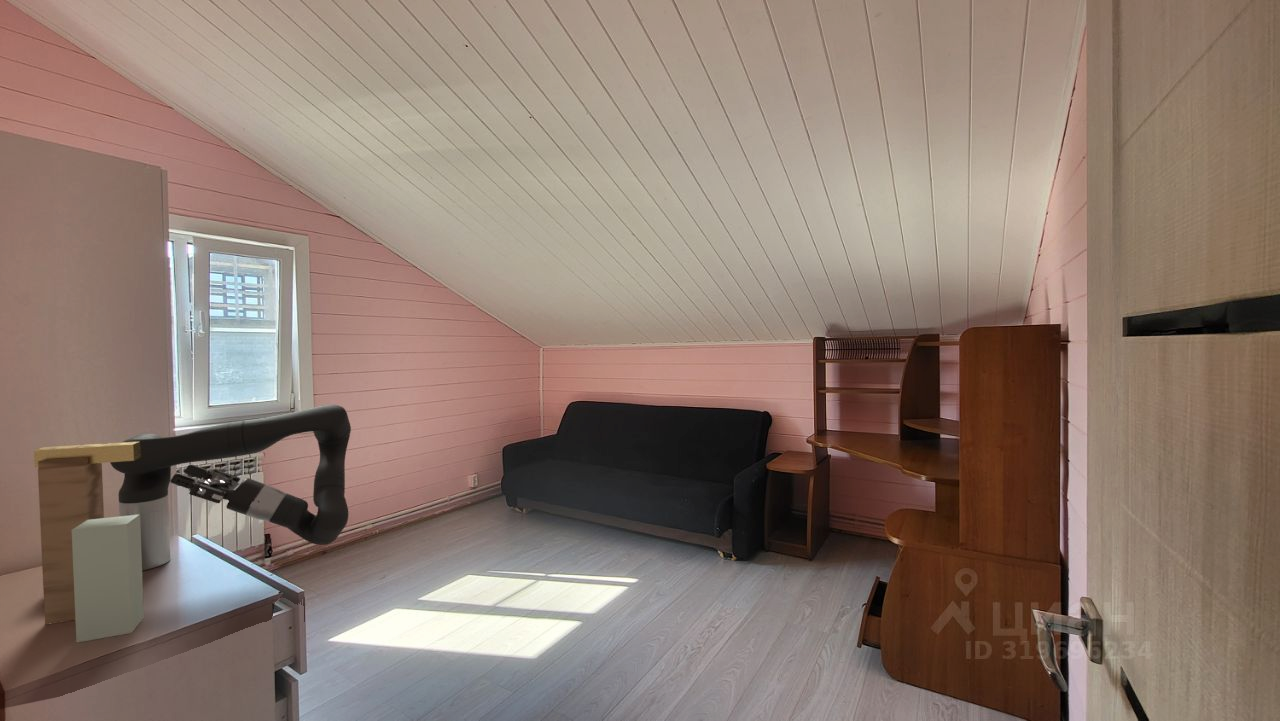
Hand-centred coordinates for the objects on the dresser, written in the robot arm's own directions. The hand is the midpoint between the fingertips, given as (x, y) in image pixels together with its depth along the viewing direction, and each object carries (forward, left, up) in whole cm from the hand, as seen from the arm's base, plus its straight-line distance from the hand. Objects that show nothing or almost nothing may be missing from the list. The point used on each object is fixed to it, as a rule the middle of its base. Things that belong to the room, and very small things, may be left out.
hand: (180, 472), depth 119 cm
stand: (0, -18, -28) cm, 33 cm away
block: (+11, -8, -28) cm, 32 cm away
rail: (0, -15, +4) cm, 15 cm away
